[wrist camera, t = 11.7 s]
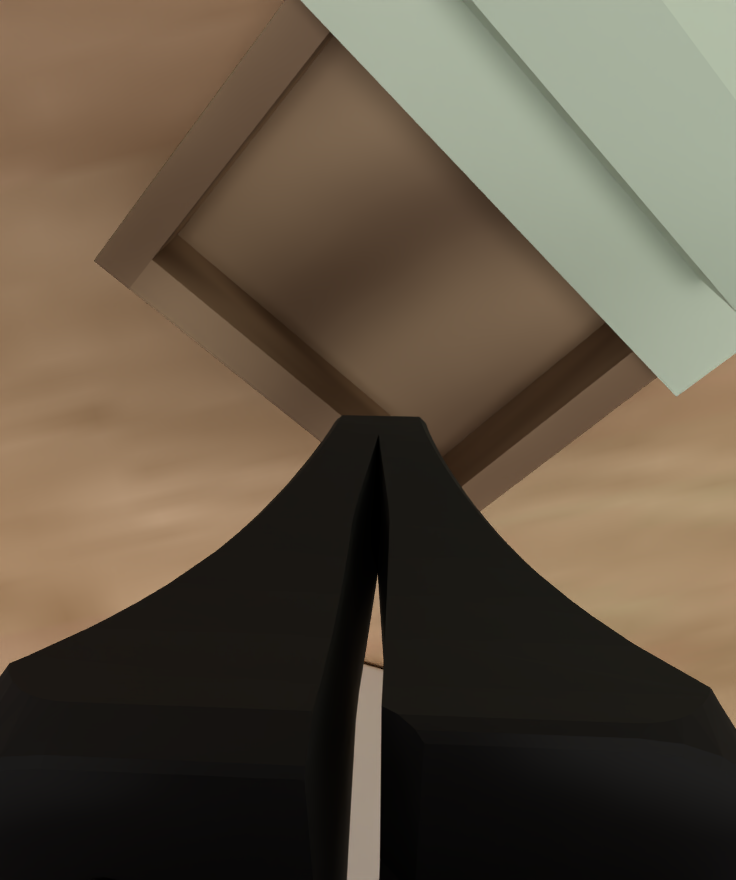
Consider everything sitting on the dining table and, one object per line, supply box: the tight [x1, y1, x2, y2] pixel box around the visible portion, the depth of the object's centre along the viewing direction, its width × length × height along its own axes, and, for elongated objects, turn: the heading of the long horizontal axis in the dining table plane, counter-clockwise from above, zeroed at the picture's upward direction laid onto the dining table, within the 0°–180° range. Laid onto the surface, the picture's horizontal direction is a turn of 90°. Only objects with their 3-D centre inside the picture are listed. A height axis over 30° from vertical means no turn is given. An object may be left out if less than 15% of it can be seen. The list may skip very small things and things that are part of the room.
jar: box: [347, 664, 383, 880], centre depth 25 cm, size 9×8×12 cm
